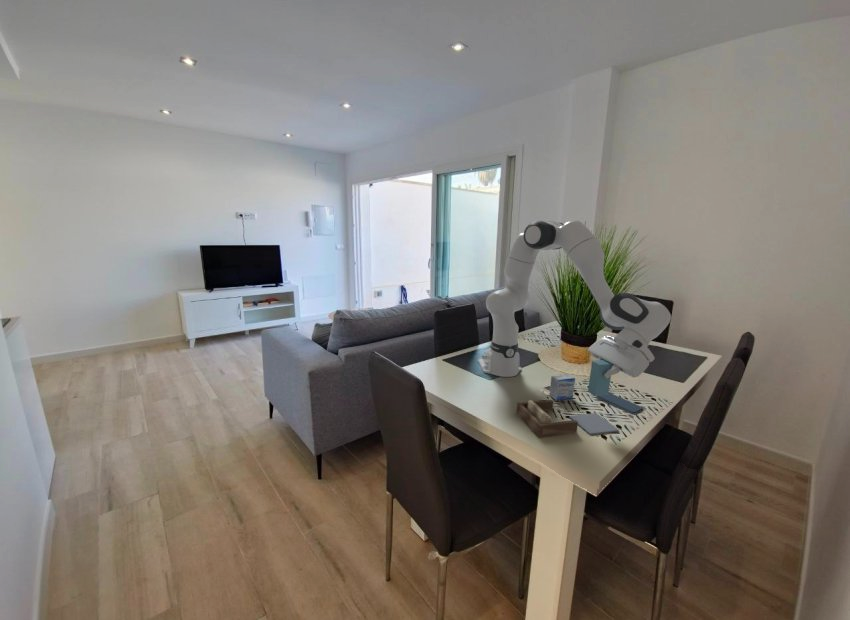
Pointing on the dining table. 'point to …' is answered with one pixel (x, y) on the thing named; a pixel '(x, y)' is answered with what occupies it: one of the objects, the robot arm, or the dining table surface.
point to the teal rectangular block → (599, 378)
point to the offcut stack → (538, 413)
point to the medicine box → (562, 387)
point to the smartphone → (620, 403)
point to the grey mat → (594, 424)
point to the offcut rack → (545, 428)
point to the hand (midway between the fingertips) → (599, 373)
